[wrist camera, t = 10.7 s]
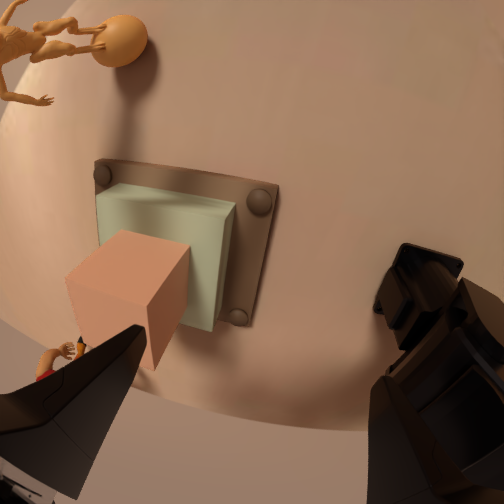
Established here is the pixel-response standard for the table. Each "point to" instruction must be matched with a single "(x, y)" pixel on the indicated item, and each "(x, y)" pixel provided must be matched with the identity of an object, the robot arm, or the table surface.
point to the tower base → (244, 224)
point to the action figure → (49, 356)
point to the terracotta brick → (131, 290)
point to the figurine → (102, 44)
